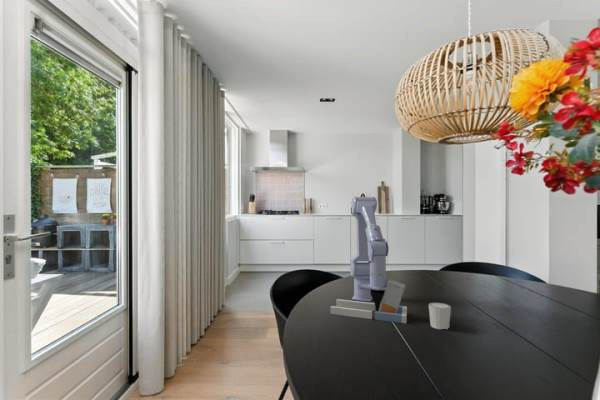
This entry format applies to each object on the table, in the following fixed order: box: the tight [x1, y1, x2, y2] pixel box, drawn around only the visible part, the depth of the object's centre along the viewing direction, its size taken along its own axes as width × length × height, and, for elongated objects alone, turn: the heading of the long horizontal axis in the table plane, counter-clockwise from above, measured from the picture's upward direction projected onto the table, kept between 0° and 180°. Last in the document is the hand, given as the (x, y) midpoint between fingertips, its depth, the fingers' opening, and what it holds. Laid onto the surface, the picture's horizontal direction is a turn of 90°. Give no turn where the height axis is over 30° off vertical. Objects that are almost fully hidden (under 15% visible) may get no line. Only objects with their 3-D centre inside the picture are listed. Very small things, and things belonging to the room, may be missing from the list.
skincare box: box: [379, 278, 406, 313], centre depth 113 cm, size 6×4×12 cm
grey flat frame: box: [329, 298, 408, 324], centre depth 116 cm, size 11×26×2 cm, turn 70°
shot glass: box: [428, 301, 452, 330], centre depth 104 cm, size 7×7×7 cm
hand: (377, 310), depth 115 cm, fingers closed
